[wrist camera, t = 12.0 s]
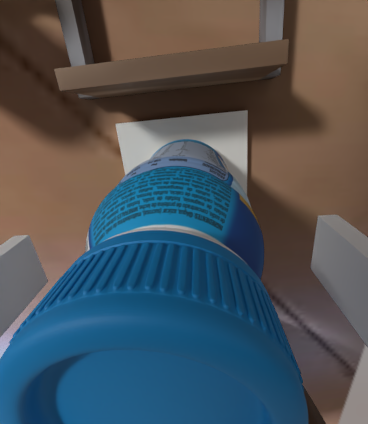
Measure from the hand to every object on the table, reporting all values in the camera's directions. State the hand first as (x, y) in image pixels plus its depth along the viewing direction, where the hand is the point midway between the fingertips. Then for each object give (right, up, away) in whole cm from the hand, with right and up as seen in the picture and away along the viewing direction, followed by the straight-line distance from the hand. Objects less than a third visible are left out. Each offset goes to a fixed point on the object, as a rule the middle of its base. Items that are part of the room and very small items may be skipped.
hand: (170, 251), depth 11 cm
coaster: (+1, +5, +13) cm, 14 cm away
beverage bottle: (+1, +5, +12) cm, 14 cm away
